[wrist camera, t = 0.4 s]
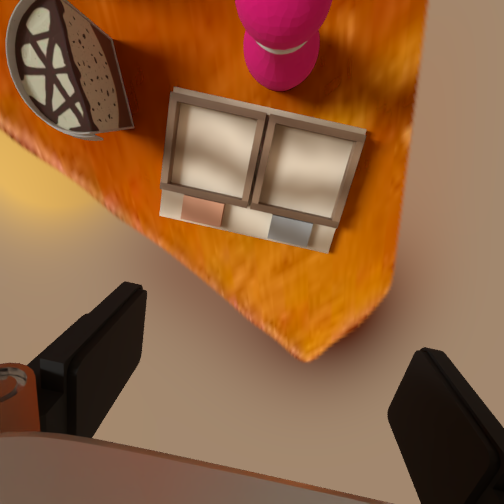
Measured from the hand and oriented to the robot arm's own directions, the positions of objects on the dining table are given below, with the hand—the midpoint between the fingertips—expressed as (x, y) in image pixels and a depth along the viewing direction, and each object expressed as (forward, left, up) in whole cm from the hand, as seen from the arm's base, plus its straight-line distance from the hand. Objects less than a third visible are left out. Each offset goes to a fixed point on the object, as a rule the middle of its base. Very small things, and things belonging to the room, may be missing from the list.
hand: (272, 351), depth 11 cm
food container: (-8, -23, -30) cm, 39 cm away
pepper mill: (-15, -3, -30) cm, 34 cm away
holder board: (-3, -3, -30) cm, 30 cm away
